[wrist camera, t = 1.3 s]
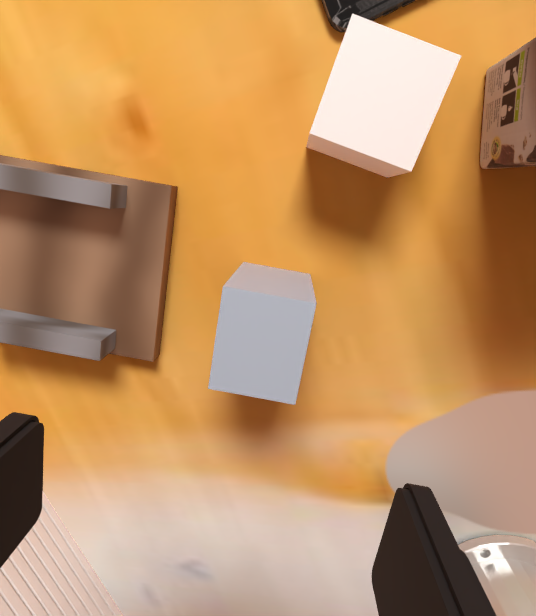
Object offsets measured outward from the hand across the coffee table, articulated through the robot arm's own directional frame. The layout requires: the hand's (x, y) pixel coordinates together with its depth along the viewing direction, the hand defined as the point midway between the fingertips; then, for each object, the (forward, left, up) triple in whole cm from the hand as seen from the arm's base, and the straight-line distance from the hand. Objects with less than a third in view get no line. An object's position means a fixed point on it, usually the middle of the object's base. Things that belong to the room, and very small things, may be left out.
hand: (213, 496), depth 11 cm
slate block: (0, 0, -21) cm, 21 cm away
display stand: (+16, -1, -21) cm, 26 cm away
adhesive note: (-4, -14, -21) cm, 26 cm away
